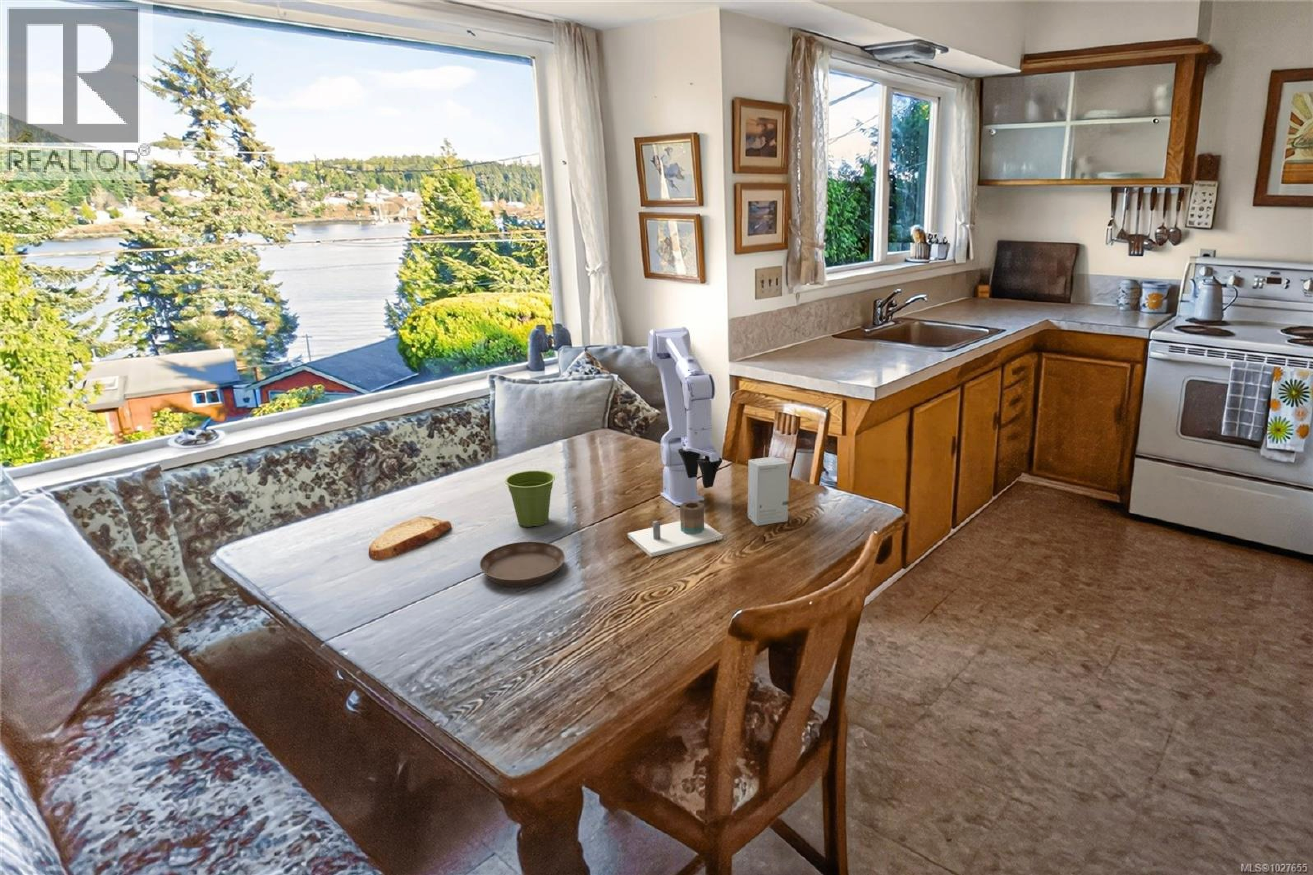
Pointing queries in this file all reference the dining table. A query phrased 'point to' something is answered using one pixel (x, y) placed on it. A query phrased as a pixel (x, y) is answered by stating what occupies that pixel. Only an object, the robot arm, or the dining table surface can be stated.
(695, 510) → the sleeve
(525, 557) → the plant saucer
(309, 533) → the dining table surface
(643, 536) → the pin board
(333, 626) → the dining table surface
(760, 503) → the skincare box
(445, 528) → the bread slice
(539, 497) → the plant pot
